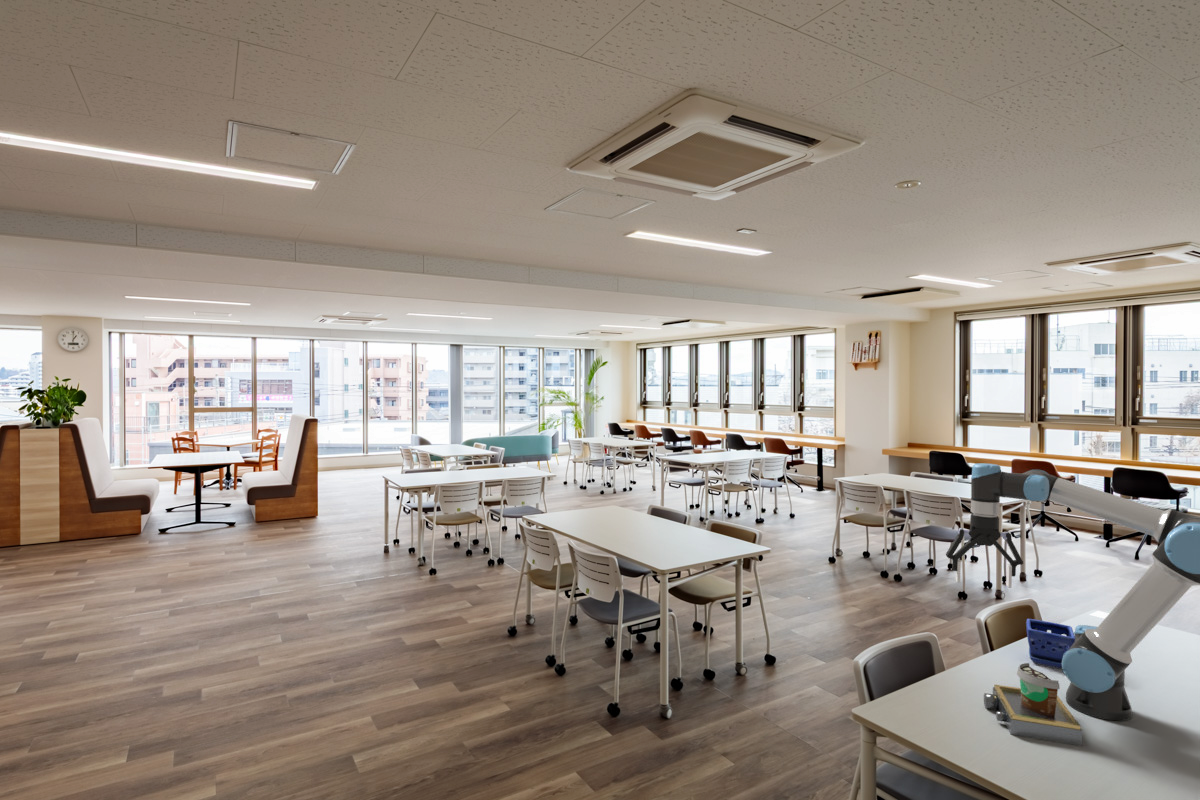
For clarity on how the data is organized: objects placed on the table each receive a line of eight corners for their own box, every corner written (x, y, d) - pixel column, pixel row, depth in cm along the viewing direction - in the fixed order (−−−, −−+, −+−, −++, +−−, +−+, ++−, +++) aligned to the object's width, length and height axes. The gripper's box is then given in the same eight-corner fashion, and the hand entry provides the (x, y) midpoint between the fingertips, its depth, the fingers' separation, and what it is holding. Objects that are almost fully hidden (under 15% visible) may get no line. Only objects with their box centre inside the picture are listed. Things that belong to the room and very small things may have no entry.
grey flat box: (1056, 710, 187) (1056, 692, 186) (1081, 746, 168) (1082, 726, 168) (980, 698, 193) (981, 682, 193) (997, 732, 174) (998, 713, 174)
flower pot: (1071, 659, 222) (1072, 625, 222) (1074, 673, 211) (1075, 637, 211) (1025, 651, 230) (1026, 617, 229) (1026, 664, 218) (1027, 628, 218)
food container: (1006, 696, 186) (1006, 662, 186) (1026, 696, 186) (1027, 662, 186) (1036, 718, 173) (1037, 681, 173) (1059, 718, 174) (1059, 681, 173)
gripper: (1028, 515, 197) (1026, 585, 197) (937, 509, 205) (935, 576, 205) (1036, 520, 189) (1034, 592, 190) (941, 513, 198) (939, 582, 198)
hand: (983, 584), depth 198 cm, fingers open, 13 cm apart
